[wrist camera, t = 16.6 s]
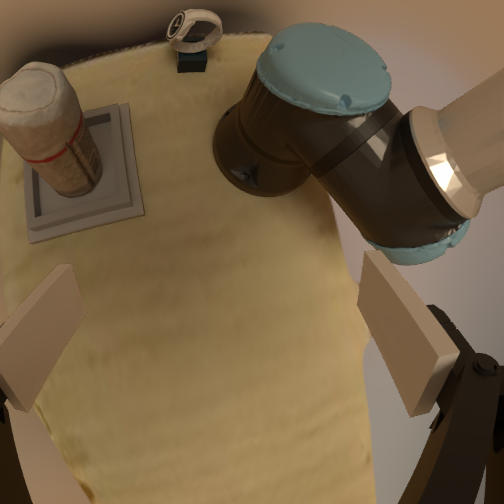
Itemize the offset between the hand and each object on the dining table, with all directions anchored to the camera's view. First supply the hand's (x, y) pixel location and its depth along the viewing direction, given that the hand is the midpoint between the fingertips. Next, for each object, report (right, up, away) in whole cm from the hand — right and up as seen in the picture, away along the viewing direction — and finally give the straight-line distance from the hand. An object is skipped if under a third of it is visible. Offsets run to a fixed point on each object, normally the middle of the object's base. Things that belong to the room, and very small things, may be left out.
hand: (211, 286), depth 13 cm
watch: (-8, +32, +30) cm, 45 cm away
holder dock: (-22, +13, +25) cm, 36 cm away
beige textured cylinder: (-22, +13, +24) cm, 35 cm away
